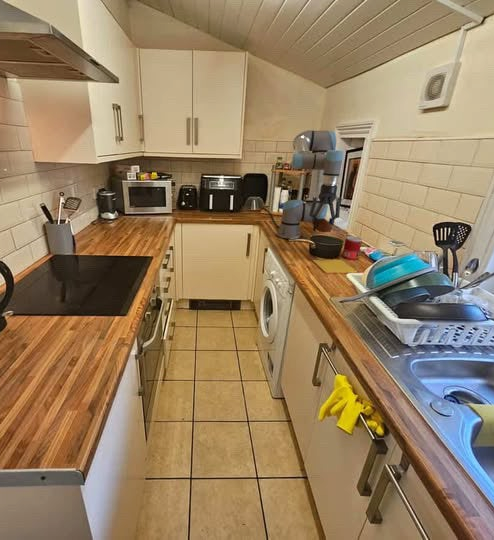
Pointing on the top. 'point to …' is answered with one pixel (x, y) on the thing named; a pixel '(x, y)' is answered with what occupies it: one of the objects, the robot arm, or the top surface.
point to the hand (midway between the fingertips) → (321, 230)
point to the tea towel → (334, 266)
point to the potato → (323, 225)
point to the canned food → (352, 247)
